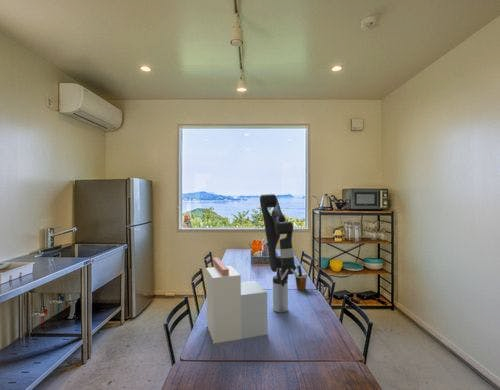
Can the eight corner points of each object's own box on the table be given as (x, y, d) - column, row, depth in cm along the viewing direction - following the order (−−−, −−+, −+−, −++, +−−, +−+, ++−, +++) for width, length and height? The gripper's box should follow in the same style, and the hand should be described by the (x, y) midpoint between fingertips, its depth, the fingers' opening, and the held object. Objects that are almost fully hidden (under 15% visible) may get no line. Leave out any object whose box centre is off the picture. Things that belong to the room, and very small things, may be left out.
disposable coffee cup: (299, 286, 226) (299, 270, 226) (310, 289, 219) (309, 273, 219) (292, 289, 219) (291, 273, 219) (302, 292, 212) (302, 275, 212)
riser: (206, 326, 160) (206, 267, 160) (255, 318, 169) (254, 263, 169) (213, 343, 141) (212, 278, 141) (267, 334, 150) (266, 272, 150)
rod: (212, 263, 171) (212, 257, 171) (217, 262, 172) (217, 257, 172) (223, 275, 145) (222, 269, 145) (228, 275, 146) (228, 269, 145)
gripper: (297, 254, 173) (300, 282, 171) (273, 257, 171) (276, 285, 169) (301, 255, 165) (304, 285, 163) (276, 258, 164) (279, 288, 161)
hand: (290, 285), depth 166 cm, fingers open, 8 cm apart
